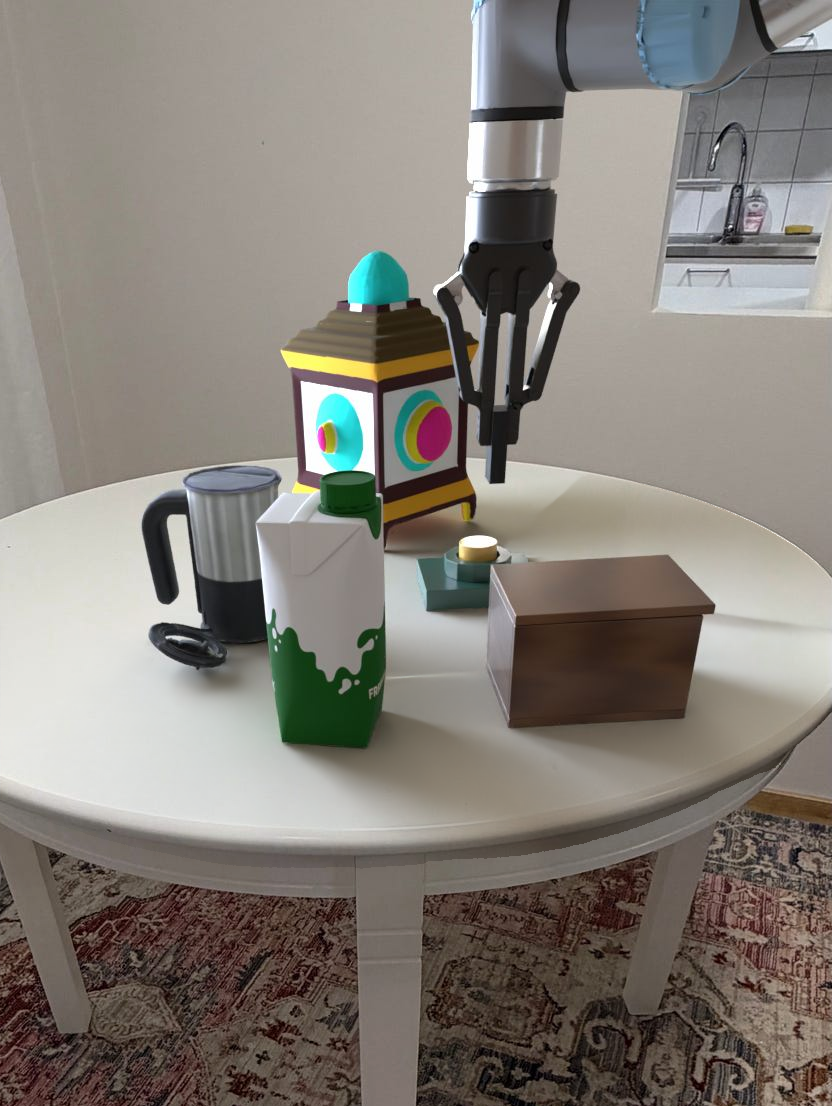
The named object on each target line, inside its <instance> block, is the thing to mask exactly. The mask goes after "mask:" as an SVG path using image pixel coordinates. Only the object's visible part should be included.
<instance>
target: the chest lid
mask: <svg viewBox="0 0 832 1106" xmlns="http://www.w3.org/2000/svg"><path fill="white" fill-rule="evenodd" d="M490 573H491V575H492V577H493V579H494V581H495V583H496V586H497V588H498V590H499V592H500V594H501V596H502V598H503V600H504V602H505V605H506V607H507V609H508V611H509V613H510V615H511V617H512V619H513V621H514V624H515V625H532V624H550V623H567V622H585V621H602V620H620V619H637V618H655V617H672V616H689V615H703V616H705V615H715V611H716V607H717V605H716V603H715V602H714V601H713V600H712V599H711V598H710V597H709V595H707V594H706V593H705V591H703V589H701V587H700V586H698V584H697V583H696V582H695V581H694V580H693V579H692V578H691V577H690V576H689V575H688V574H687V572H685V571H684V570H683V569H682V567H680V565H679V564H678V563H677V562H676V561H675V560H674V559H673V558H672V557H671V555H669V554H655V555H652V554H651V555H638V556H637V555H636V556H635V555H634V556H619V557H602V558H585V559H584V558H582V559H566V560H547V561H529V562H528V563H510V564H492V565H491V572H490Z"/></svg>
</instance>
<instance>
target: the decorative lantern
mask: <svg viewBox="0 0 832 1106" xmlns="http://www.w3.org/2000/svg"><path fill="white" fill-rule="evenodd" d="M347 285H348V286H347V288H348V290H347V292H348V293H347V298H348V299H345V300H337V301H336V307H335V309H332V310H329V311H328V312H327V314H326V315H325V318H322V319H320V320H318V321H317V323H316V325H315V326H310V327H305V328H300V329H299V330H297V331H296V335H295V336H292V337H290V338H289V339H287V342H286V344H285V345H284V346H282V347H281V348H280V353H281V355H282V357H283V359H284V362H285V364H286V365H287V367H288V370H289V372H290V376H291V386H292V400H293V415H294V428H295V430H294V432H295V445H296V459H297V478H296V482H295V484H294V487H293V489H292V491H291V493H314V492H315V491H320V478H321V477H322V476H323V475H325V474H328V473H331V472H336V471H345V470H359V471H366V472H370V473H372V474H374V475H375V477H376V493H379V494H382V495H383V540H384V551H385V550H386V547H387V542H388V541H387V540H388V534H389V531H390V530H391V528H393V527H394V526H397V525H400V524H403V523H407V522H409V521H412V520H416V519H418V518H421V517H425V516H428V515H430V514H433V513H436V512H440V511H443V510H445V509H449V508H452V507H455V506H458V505H460V504H461V515H462V519H463V520H464V521H465V522H471V521H473V519H475V516H476V513H477V512H476V511H477V493H476V490H475V488H474V486H473V484H472V482H471V479H470V477H469V475H468V471H467V454H468V453H467V451H468V449H467V448H468V419H469V404H466V403H465V402H464V401H463V400H462V398H461V397H460V395H459V391H458V386H457V381H456V375H455V370H454V365H453V359H452V354H451V348H450V343H449V338H448V332H447V327H446V322H445V321H443V320H442V317H441V316H440V315H436V314H434V313H433V312H432V310H431V309H430V307H427V306H425V305H422V301H421V300H422V299H421V298H419V297H410V285H409V277H408V275H407V271H406V270H405V269H404V268H403V267H402V266H401V265H400V263H399V262H398V260H396V259H395V258H394V257H393V256H392V255H390V254H389V253H387V252H386V251H382V250H375V251H372V252H369V253H368V254H367V255H365V256H364V257H362V259H361V260H360V261H359V262H358V264H357V265H356V266H355V268H354V269H353V271H352V272H351V273H350V275H349V279H348V284H347ZM464 333H465V339H466V344H467V350H468V356H469V361H470V366H471V365H472V363H473V360H474V358H475V356H476V354H477V351H478V349H479V347H480V340H478V339H476V338H474V337H473V334H472V332H470V331H468V330H464Z"/></svg>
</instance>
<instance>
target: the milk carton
mask: <svg viewBox="0 0 832 1106" xmlns="http://www.w3.org/2000/svg"><path fill="white" fill-rule="evenodd" d="M256 529H257V537H258V545H259V553H260V562H261V572H262V583H263V593H264V603H265V613H266V624H267V634H268V639H267V642H268V643H267V644H268V654H269V662H270V663H269V664H270V672H271V674H270V675H271V681H272V688H273V695H274V702H275V706H276V707H275V708H276V713H277V720H278V721H277V722H278V727H279V733H280V739H281V743H283V744H284V743H286V744H287V743H288V744H301V745H316V746H330V747H342V748H358V749H367V748H368V746H369V744H370V741H371V738H372V735H373V733H374V730H375V727H376V725H377V723H378V721H379V720H378V719H379V717H380V715H381V712H382V709H383V702H384V693H385V684H386V683H385V681H386V671H387V638H386V637H387V635H386V633H387V632H386V590H385V589H386V585H385V584H386V581H385V578H386V577H385V550H384V540H383V495H382V494H379V493H376V477H375V475H374V474H372V473H370V472H366V471H359V470H345V471H336V472H331V473H328V474H325V475H323V476H322V477H321V478H320V491H315V492H314V493H292V492H282V493H281V494H280V495H278V499H277V500H276V501H275V502H274V503H273V504H272V505H271V506H270V507H269V508H268V510H267V511H266V512H265V513H264V514H263V515H262V516H261V517H260V518H259V519H258V520H257V522H256Z"/></svg>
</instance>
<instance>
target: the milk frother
mask: <svg viewBox="0 0 832 1106" xmlns="http://www.w3.org/2000/svg"><path fill="white" fill-rule="evenodd" d="M282 479H283V478H282V477H281V474H280V472H278V471H277V470H276V469H273V468H270V467H265V466H259V465H223V466H213V467H209V468H208V467H207V468H202V469H199V470H196V471H193V472H189V473H188V474H187V475H186V476H185V477H183V478H182V480H181V483H182V486H183V487H184V488H178V489H177V488H176V489H169V490H165V491H163V492H161V493H159V494H158V495H157V496H155V497H154V498H153V499H152V500H151V501H150V502H149V503H148V505H147V506H146V508H145V509H144V512H143V514H142V517H141V522H140V523H141V527H140V528H141V535H142V539H143V543H144V548H145V553H146V557H147V562H148V566H149V569H150V574H151V580H152V583H153V587H154V592H155V595H156V599H157V601H158V602H159V603H160V604H161V605H165V606H166V605H168V606H169V605H171V604H172V603H174V602H175V601H176V600H177V598H178V597H179V595H180V586H179V581H178V576H177V575H178V574H177V571H176V566H175V565H176V564H175V560H174V555H173V550H172V546H171V545H172V544H171V539H170V534H169V529H168V518H169V517H170V516H173V515H174V516H175V515H177V516H179V515H180V516H185V518H186V527H187V535H188V543H189V550H190V557H191V566H192V573H193V580H194V590H195V597H196V605H197V612H198V613H199V614H201V622H200V627H196V626H191V625H188V624H183V623H176V622H163V621H161V622H159V623H155V624H153V625H152V626H150V628H149V630H148V634H147V636H148V639H149V641H150V642H151V644H152V646H154V648H156V649H157V650H158V651H159V652H160V653H162V654H163V655H164V656H167V657H168V658H169V659H172V660H173V661H176V662H178V663H180V664H183V665H186V666H190V667H194V668H195V670H196V671H200V669H212V668H213V669H214V668H217V667H220V666H222V665H223V664H225V662H226V660H227V657H228V652H229V651H228V648H227V646H226V645H225V644H223V643H232V644H243V643H245V644H246V643H248V644H249V643H253V642H255V643H256V642H260V641H265V640H268V634H267V624H266V613H265V603H264V593H263V583H262V572H261V562H260V553H259V545H258V537H257V529H256V522H257V520H258V519H259V518H260V517H261V516H262V515H263V514H264V513H265V512H266V511H267V510H268V508H269V507H270V506H271V505H272V504H273V503H274V502H275V501H276V500H277V499H278V497H279V486H280V484H281V482H282ZM175 636H176V637H184V638H187V639H180V640H179V639H175V638H172V637H175ZM166 637H169V638H166ZM221 642H222V643H221Z"/></svg>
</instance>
